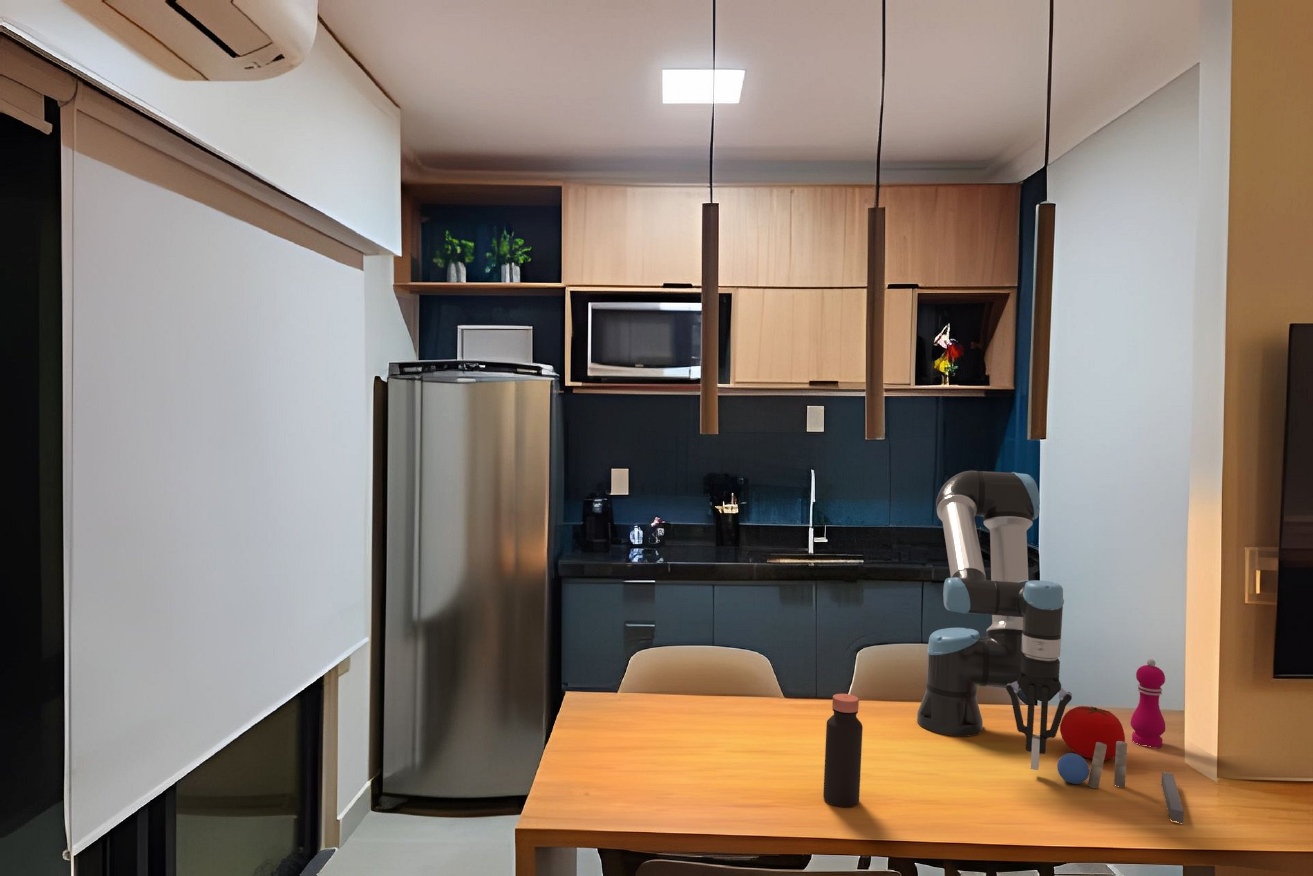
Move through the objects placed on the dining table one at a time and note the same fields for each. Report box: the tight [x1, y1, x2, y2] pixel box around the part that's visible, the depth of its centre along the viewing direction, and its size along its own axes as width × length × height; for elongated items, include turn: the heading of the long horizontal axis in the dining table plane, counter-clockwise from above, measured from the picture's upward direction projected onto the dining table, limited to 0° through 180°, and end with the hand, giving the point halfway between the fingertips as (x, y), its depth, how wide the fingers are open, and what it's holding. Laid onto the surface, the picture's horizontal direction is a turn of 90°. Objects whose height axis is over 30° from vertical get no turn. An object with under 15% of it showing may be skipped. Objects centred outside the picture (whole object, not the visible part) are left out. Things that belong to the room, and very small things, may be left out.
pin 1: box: [1087, 742, 1107, 789], centre depth 180 cm, size 2×2×9 cm
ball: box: [1057, 752, 1090, 785], centre depth 182 cm, size 6×6×6 cm
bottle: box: [822, 693, 864, 808], centre depth 169 cm, size 7×7×20 cm
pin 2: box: [1113, 741, 1128, 788], centre depth 182 cm, size 2×2×9 cm
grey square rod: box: [1160, 771, 1185, 824], centre depth 174 cm, size 2×20×2 cm, turn 154°
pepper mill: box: [1130, 658, 1166, 748], centre depth 207 cm, size 7×7×20 cm
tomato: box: [1059, 705, 1126, 761], centre depth 198 cm, size 12×13×11 cm
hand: (1034, 767), depth 185 cm, fingers closed
